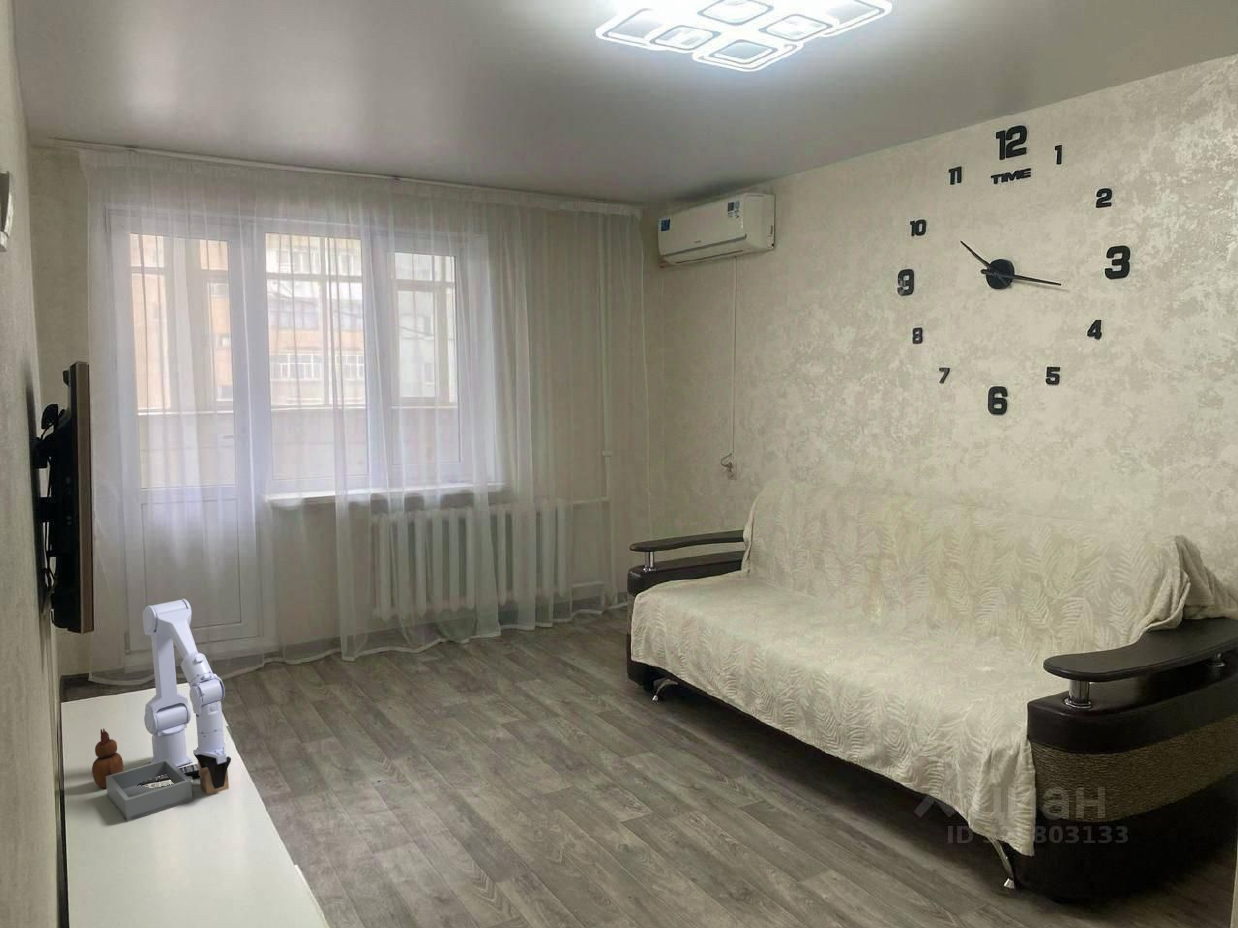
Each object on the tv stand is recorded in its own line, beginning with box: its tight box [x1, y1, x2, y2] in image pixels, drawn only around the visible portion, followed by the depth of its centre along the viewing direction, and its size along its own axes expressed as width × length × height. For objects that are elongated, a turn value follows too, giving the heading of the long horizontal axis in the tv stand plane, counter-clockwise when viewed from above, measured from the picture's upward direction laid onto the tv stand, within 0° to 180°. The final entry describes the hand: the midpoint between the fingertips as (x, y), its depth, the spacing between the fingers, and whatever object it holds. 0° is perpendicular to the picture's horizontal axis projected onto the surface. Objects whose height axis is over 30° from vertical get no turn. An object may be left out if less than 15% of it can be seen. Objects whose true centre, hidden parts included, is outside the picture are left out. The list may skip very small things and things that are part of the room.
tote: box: [106, 759, 194, 823], centre depth 213 cm, size 18×14×5 cm
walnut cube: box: [198, 767, 230, 796], centre depth 217 cm, size 5×5×5 cm
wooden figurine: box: [91, 728, 124, 789], centre depth 221 cm, size 7×6×15 cm
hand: (214, 782), depth 217 cm, fingers open, 6 cm apart
